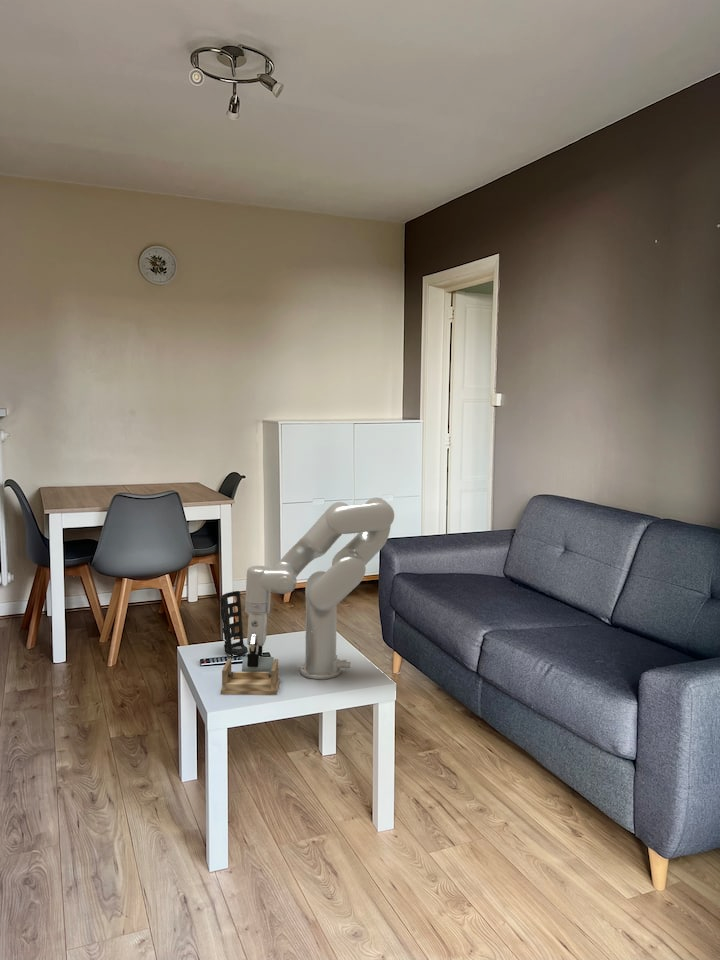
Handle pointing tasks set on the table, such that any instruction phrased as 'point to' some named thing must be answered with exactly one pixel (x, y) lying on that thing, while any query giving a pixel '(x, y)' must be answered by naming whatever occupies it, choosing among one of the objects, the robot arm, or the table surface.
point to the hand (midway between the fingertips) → (254, 661)
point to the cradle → (250, 681)
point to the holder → (227, 625)
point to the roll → (259, 665)
